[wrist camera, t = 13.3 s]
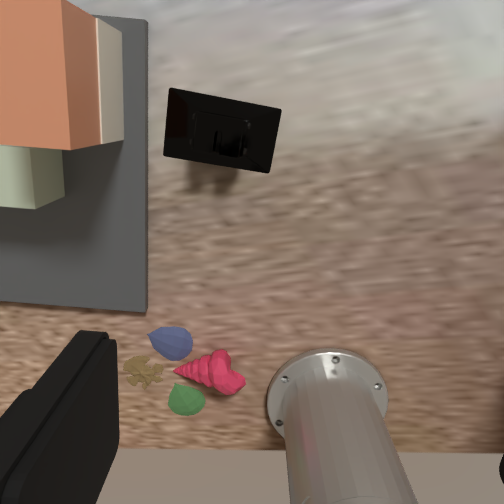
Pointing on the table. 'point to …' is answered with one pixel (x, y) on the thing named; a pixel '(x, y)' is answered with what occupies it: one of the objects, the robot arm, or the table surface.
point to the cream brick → (110, 82)
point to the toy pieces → (185, 370)
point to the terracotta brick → (48, 75)
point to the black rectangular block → (220, 131)
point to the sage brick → (30, 176)
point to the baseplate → (90, 212)
